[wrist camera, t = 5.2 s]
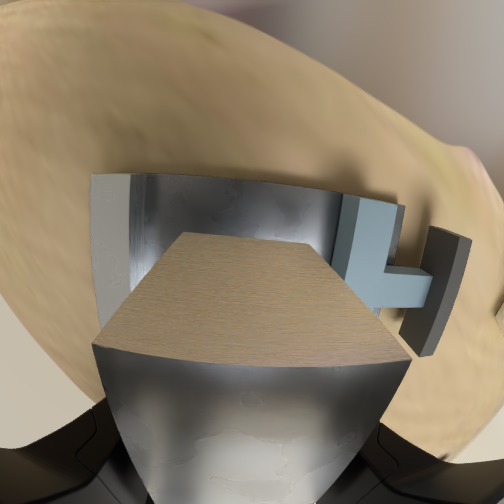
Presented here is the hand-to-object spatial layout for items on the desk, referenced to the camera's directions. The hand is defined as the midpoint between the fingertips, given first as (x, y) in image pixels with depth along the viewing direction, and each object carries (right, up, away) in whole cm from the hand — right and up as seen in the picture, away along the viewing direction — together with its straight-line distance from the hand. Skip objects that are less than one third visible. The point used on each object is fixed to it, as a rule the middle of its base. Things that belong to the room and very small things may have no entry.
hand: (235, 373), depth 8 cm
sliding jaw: (+10, +2, +10) cm, 14 cm away
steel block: (0, 0, +1) cm, 2 cm away
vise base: (+1, +3, +10) cm, 10 cm away
